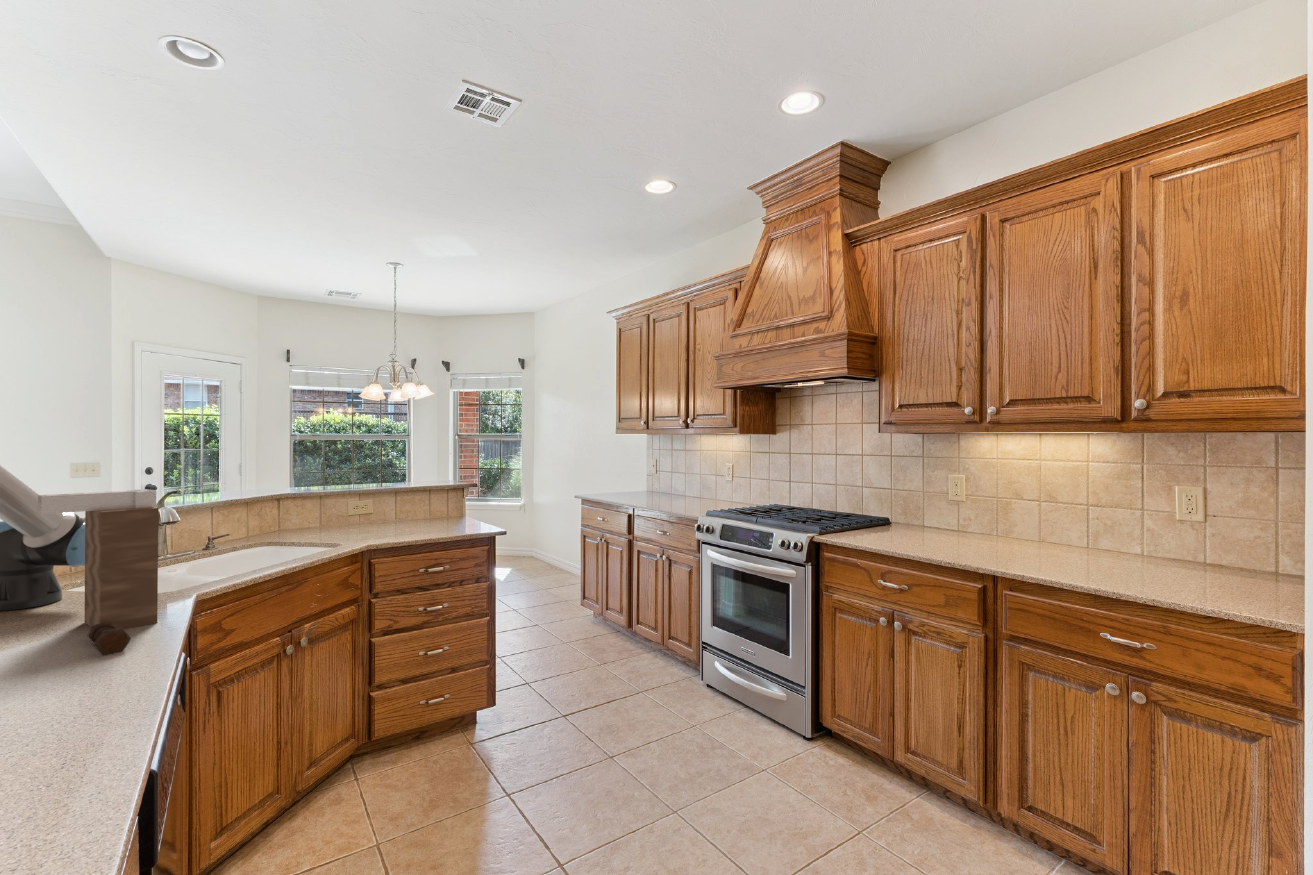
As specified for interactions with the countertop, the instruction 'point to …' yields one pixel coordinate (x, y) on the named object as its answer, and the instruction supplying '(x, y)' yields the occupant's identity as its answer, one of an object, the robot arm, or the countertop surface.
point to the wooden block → (121, 567)
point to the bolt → (108, 638)
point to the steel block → (96, 501)
